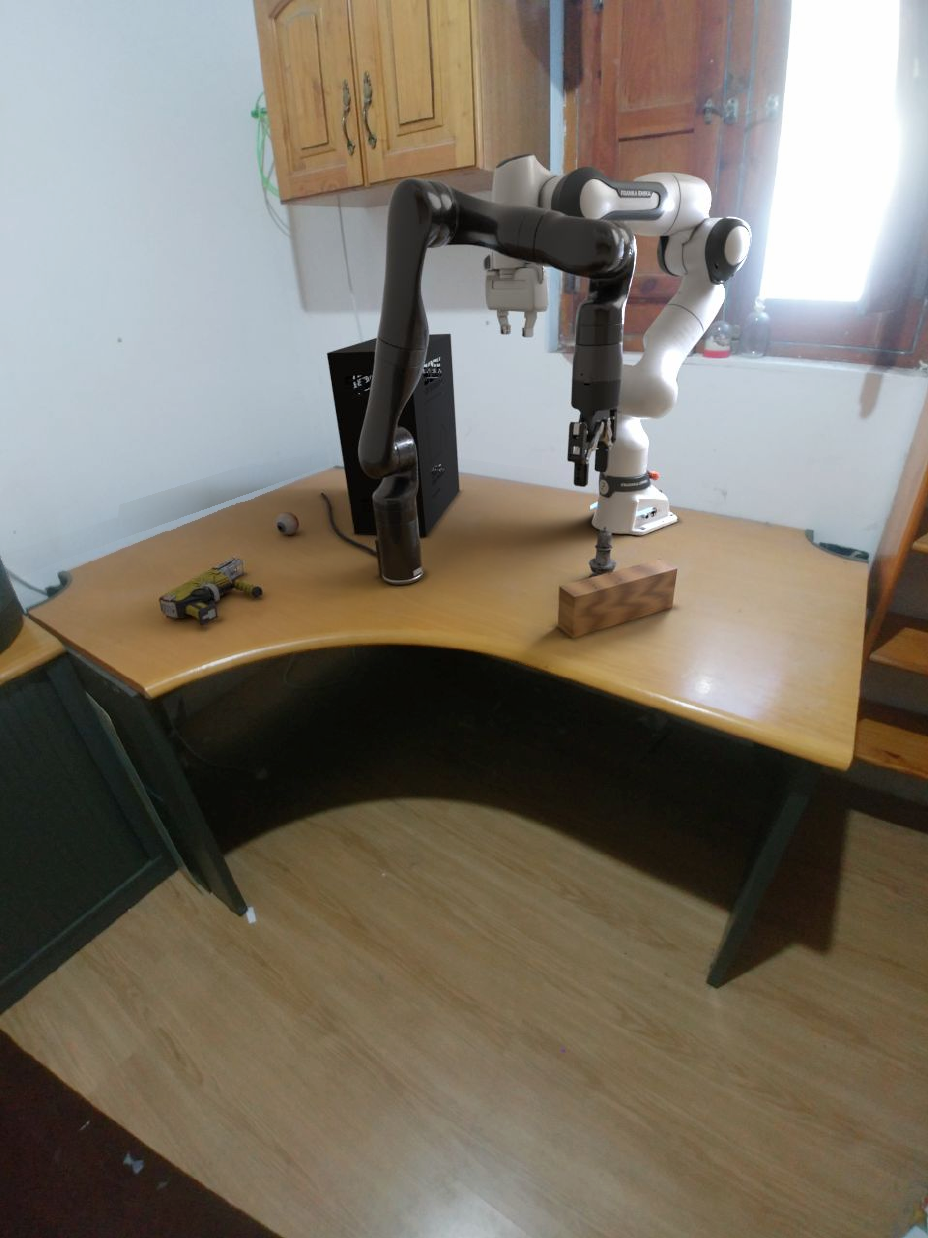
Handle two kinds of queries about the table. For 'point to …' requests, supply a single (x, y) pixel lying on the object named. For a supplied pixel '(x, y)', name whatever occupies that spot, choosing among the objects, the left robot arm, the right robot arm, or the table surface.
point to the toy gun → (205, 592)
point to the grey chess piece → (602, 555)
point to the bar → (616, 597)
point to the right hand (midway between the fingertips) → (516, 335)
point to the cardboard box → (421, 416)
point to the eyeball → (287, 523)
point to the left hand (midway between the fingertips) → (591, 478)
